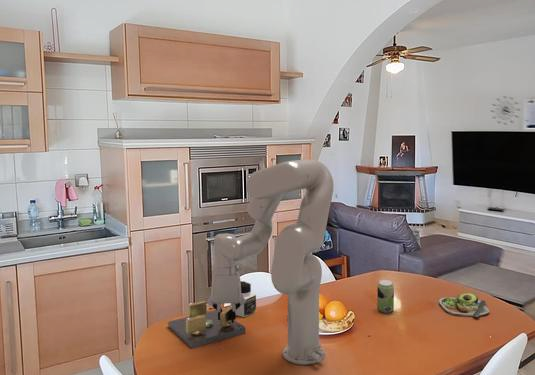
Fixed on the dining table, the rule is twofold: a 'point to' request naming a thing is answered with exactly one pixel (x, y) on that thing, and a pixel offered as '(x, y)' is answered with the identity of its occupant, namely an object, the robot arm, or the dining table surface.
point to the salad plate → (465, 305)
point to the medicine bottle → (250, 301)
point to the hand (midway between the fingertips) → (226, 321)
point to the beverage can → (385, 296)
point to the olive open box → (197, 309)
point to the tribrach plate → (206, 330)
